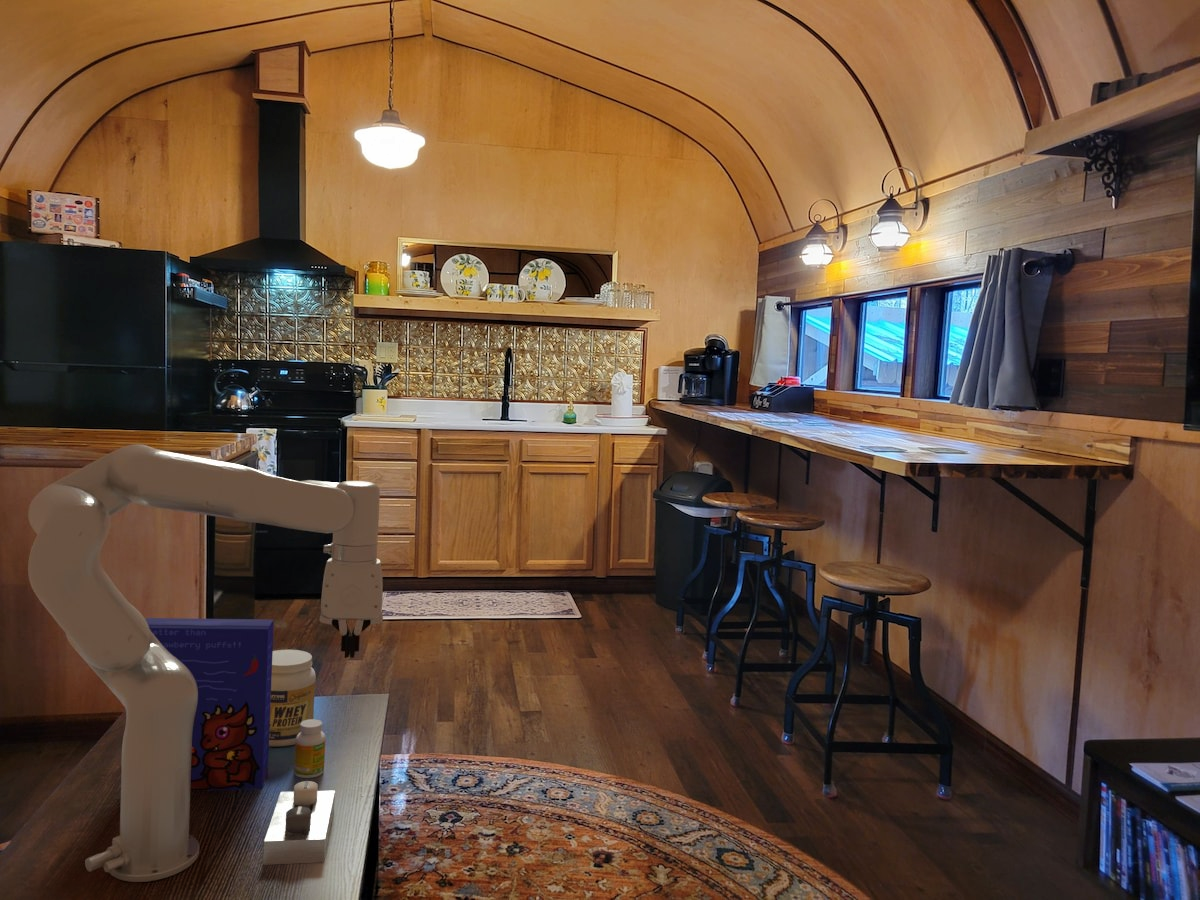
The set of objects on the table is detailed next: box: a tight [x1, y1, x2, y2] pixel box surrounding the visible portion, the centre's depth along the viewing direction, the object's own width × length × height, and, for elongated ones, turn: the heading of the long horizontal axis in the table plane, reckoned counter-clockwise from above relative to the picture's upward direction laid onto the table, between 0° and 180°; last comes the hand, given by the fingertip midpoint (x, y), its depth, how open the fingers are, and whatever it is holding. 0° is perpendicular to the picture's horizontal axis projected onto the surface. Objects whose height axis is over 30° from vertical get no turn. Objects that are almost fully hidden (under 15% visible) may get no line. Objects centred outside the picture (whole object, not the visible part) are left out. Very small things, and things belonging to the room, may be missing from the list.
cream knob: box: [293, 780, 319, 809], centre depth 148 cm, size 4×4×6 cm
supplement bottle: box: [293, 718, 326, 779], centre depth 165 cm, size 5×5×10 cm
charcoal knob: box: [285, 807, 311, 836], centre depth 139 cm, size 4×4×6 cm
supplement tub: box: [269, 649, 317, 748], centre depth 180 cm, size 12×12×17 cm
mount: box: [262, 790, 336, 866], centre depth 143 cm, size 16×9×4 cm, turn 11°
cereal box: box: [145, 617, 275, 792], centre depth 158 cm, size 22×6×30 cm, turn 101°
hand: (349, 655), depth 153 cm, fingers closed
